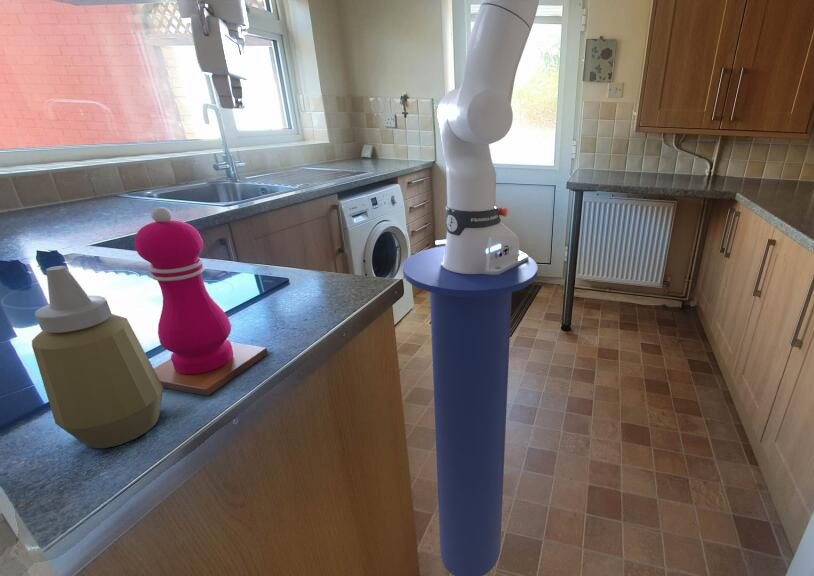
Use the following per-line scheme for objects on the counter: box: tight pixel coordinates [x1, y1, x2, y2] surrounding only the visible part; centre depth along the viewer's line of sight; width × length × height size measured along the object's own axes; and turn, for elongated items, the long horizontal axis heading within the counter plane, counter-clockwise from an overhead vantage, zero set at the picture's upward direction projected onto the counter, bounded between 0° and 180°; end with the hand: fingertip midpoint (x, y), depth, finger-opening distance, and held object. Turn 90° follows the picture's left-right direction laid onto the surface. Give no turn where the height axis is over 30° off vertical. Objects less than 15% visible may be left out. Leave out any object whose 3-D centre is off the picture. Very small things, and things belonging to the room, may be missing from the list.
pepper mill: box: [134, 206, 233, 374], centre depth 49 cm, size 7×7×20 cm
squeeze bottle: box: [31, 265, 164, 449], centre depth 39 cm, size 8×8×18 cm
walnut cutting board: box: [153, 341, 269, 397], centre depth 53 cm, size 10×10×1 cm
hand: (234, 108), depth 69 cm, fingers open, 8 cm apart
